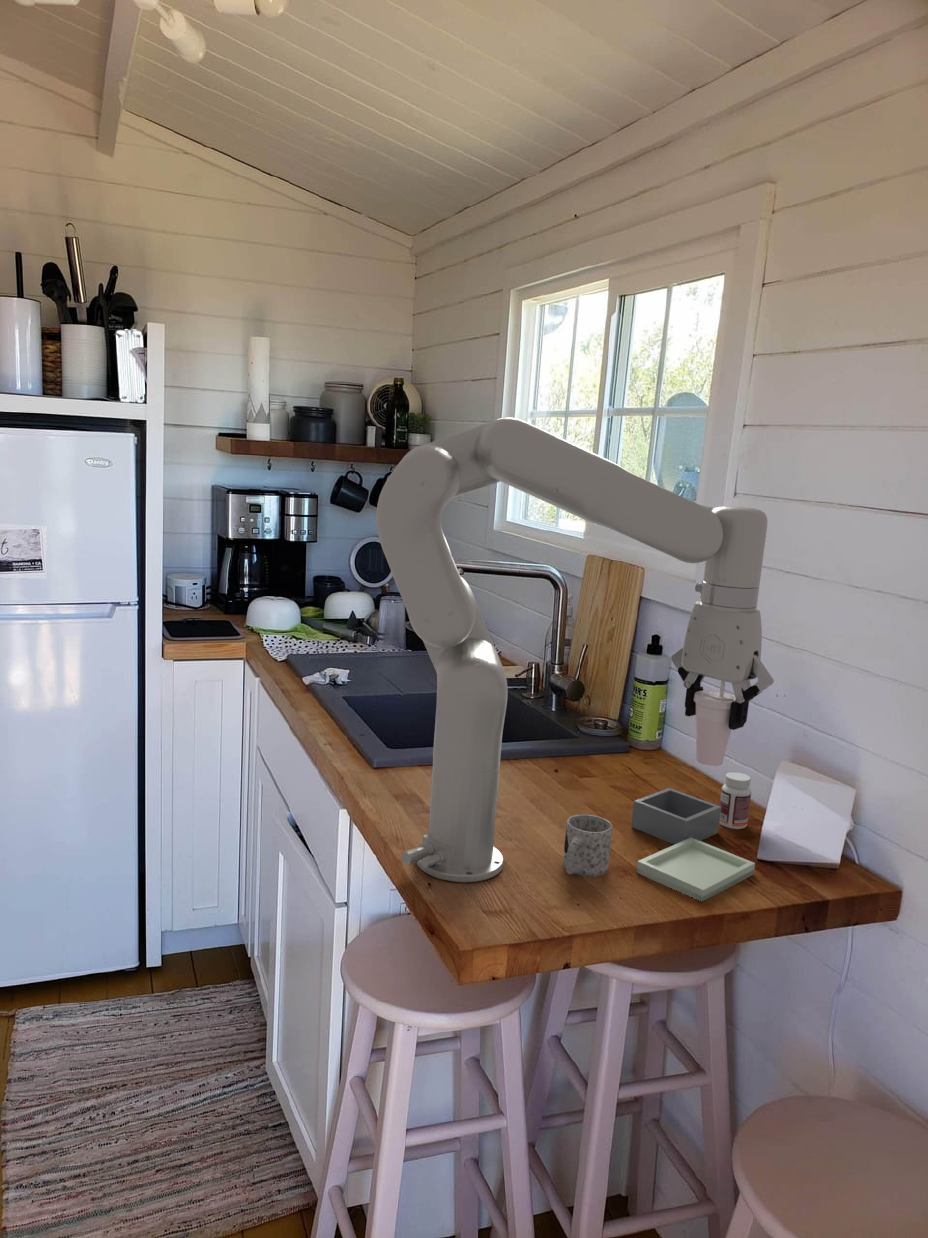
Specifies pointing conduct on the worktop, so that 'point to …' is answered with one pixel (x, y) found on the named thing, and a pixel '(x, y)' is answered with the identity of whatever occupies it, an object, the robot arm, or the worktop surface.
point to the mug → (587, 845)
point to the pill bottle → (735, 800)
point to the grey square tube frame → (675, 816)
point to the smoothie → (712, 725)
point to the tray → (695, 868)
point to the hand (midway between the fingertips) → (714, 720)
